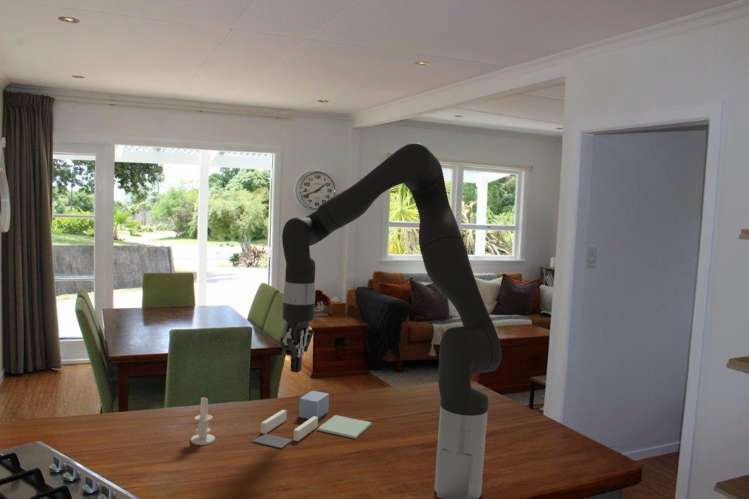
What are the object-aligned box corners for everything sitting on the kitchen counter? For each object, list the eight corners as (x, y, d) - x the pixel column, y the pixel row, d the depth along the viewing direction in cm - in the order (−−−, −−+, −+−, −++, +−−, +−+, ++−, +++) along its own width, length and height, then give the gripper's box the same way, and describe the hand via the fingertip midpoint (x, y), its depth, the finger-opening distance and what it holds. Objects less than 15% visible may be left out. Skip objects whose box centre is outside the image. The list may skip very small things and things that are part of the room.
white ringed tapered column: (204, 433, 142) (205, 390, 141) (219, 440, 139) (221, 395, 138) (185, 440, 137) (187, 395, 136) (201, 447, 134) (202, 401, 133)
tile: (355, 438, 144) (355, 436, 144) (317, 430, 148) (317, 428, 148) (371, 424, 153) (371, 422, 153) (335, 417, 157) (335, 414, 157)
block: (316, 420, 154) (317, 401, 154) (298, 417, 156) (299, 398, 155) (328, 412, 161) (329, 393, 160) (311, 408, 162) (312, 390, 162)
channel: (286, 450, 135) (286, 439, 135) (248, 441, 139) (248, 430, 139) (317, 426, 150) (318, 416, 150) (282, 419, 153) (282, 409, 153)
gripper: (300, 306, 138) (296, 380, 140) (325, 298, 151) (321, 367, 152) (271, 302, 141) (268, 375, 142) (298, 295, 153) (295, 362, 155)
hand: (295, 371), depth 147 cm, fingers closed
